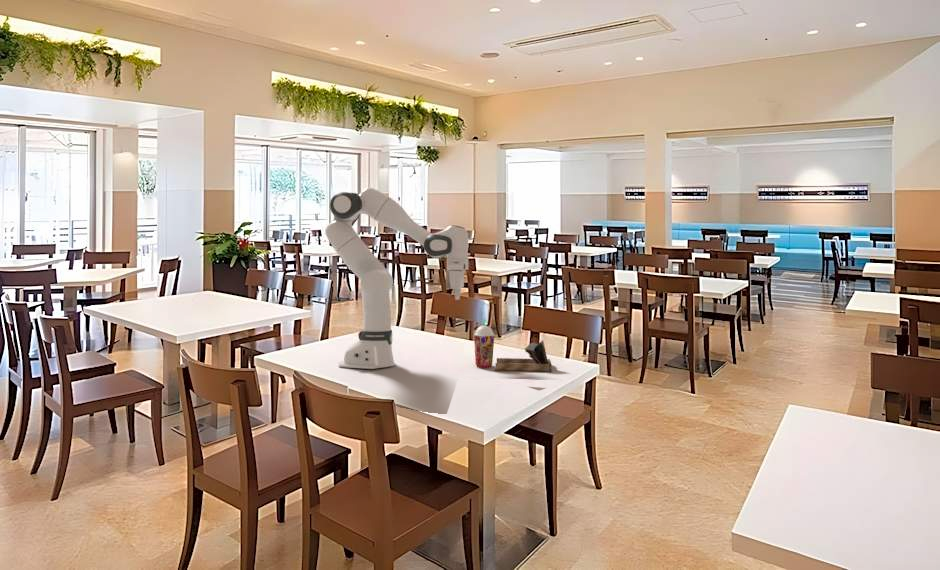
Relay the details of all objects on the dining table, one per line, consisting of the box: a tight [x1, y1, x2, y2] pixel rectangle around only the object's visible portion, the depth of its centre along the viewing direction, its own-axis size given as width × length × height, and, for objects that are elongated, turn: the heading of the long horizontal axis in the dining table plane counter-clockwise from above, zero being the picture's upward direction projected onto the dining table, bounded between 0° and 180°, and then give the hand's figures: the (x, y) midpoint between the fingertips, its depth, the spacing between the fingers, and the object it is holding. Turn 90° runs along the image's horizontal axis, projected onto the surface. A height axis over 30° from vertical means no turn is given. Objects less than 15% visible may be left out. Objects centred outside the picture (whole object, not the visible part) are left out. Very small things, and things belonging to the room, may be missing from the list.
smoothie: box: [473, 318, 495, 369], centre depth 252 cm, size 8×8×20 cm
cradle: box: [495, 357, 553, 373], centre depth 251 cm, size 22×14×3 cm, turn 86°
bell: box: [524, 339, 548, 364], centre depth 250 cm, size 10×7×12 cm
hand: (457, 299), depth 252 cm, fingers closed
